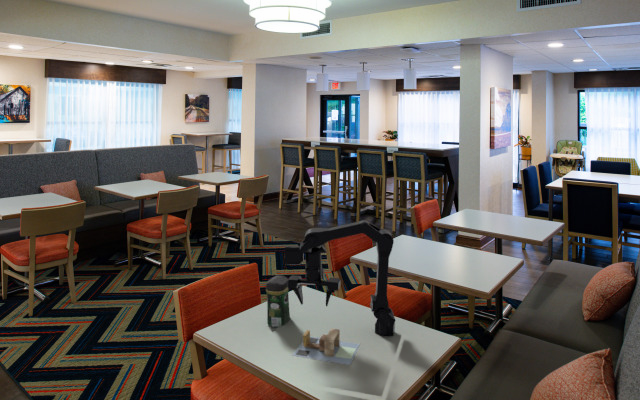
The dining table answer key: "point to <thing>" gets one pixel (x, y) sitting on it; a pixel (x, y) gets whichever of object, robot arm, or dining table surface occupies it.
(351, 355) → the pale blue flat board
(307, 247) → the robot arm
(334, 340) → the tunnel
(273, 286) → the coffee jar
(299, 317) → the dining table surface
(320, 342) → the tan u-shaped piece
